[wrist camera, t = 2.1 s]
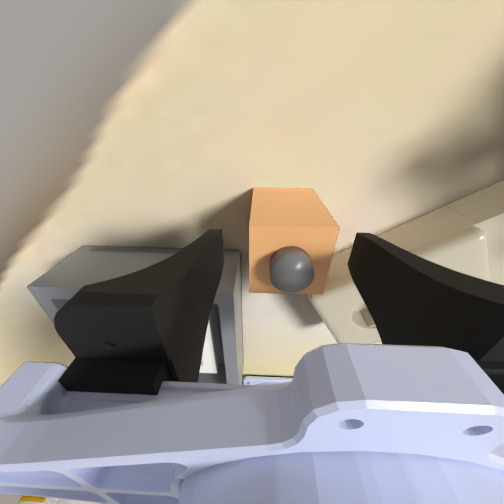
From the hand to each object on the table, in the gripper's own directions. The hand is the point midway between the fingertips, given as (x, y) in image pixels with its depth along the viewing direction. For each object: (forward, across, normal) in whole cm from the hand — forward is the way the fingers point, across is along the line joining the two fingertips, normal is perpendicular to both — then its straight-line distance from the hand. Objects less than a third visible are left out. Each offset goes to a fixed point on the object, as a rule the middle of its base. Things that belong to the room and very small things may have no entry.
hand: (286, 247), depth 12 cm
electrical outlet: (+5, -12, +3) cm, 13 cm away
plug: (+5, 0, 0) cm, 5 cm away
